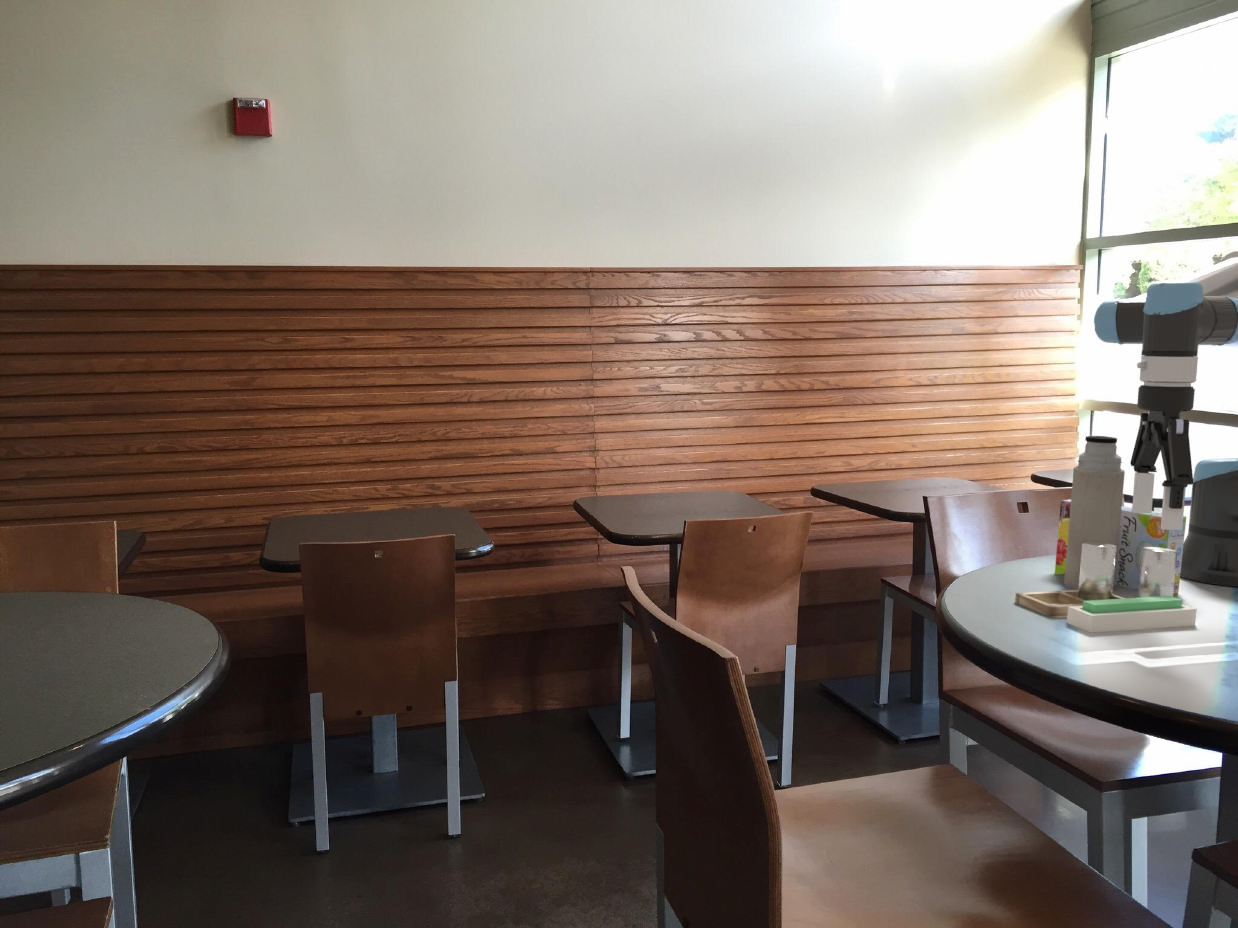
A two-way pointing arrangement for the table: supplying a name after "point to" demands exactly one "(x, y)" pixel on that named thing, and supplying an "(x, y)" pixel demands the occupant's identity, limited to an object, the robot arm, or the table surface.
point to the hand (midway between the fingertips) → (1155, 520)
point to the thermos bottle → (1094, 502)
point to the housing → (1130, 619)
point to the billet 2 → (1157, 572)
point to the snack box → (1128, 543)
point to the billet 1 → (1097, 571)
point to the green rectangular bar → (1132, 604)
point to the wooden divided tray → (1052, 601)
